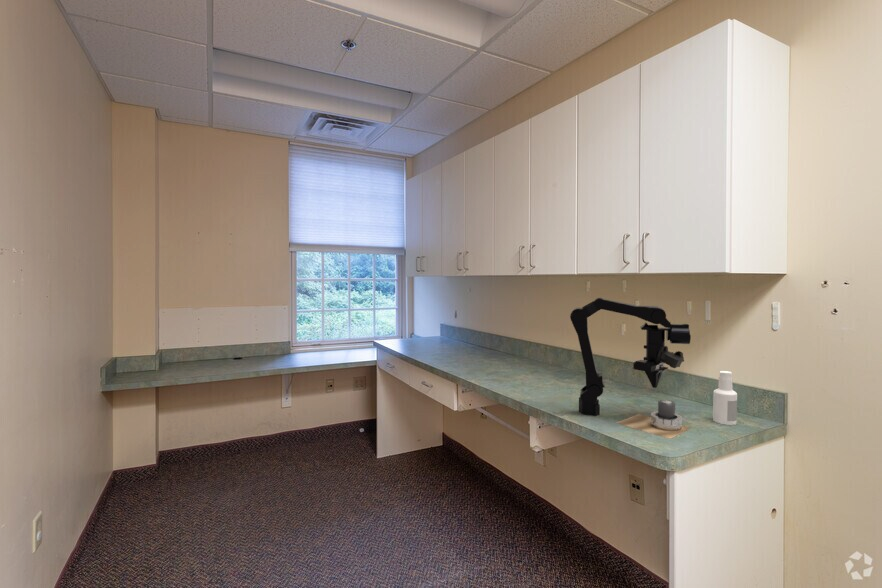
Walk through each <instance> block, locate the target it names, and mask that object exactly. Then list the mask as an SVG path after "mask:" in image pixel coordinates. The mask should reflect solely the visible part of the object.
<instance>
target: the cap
mask: <svg viewBox="0 0 882 588" xmlns="http://www.w3.org/2000/svg"><path fill="white" fill-rule="evenodd" d="M657 411H658V417H660V418H664V419H675V414H676V403H675V402H674V401H671V400H667V399H666V400H664V399H659V400H658V402H657Z"/></svg>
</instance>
